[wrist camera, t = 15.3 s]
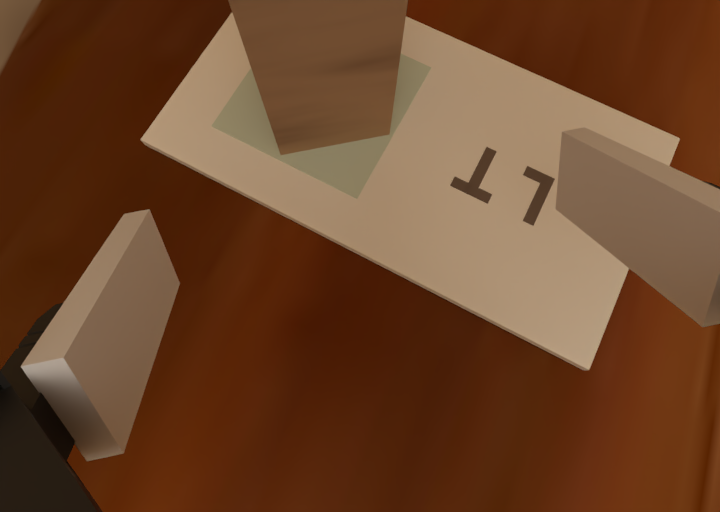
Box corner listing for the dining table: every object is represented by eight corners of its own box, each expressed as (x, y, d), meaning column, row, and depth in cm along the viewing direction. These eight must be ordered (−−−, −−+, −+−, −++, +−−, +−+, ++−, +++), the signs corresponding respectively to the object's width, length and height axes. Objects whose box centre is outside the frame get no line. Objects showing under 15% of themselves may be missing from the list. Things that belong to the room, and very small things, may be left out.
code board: (273, -36, 29) (271, -45, 28) (672, 143, 26) (681, 137, 26) (145, 144, 26) (139, 138, 25) (583, 370, 23) (590, 370, 22)
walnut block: (262, 60, 27) (191, -184, 15) (365, 42, 27) (373, -211, 15) (280, 155, 25) (216, -36, 14) (389, 134, 26) (417, -69, 14)
